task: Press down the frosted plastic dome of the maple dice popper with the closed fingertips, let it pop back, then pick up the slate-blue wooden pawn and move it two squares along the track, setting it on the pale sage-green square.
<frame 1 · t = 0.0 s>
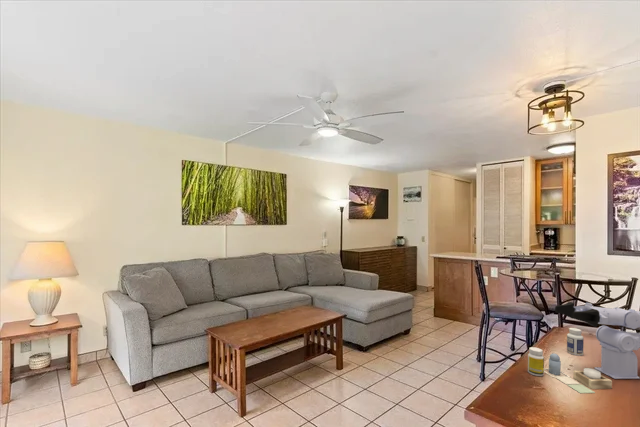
hand: (564, 312, 117), 22 cm above the table, tool horizontal, fingers open, 7 cm apart
square one: (567, 380, 112), on the table
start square: (554, 373, 118), on the table
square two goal: (580, 389, 107), on the table
pawn: (554, 373, 118), on the table
dome: (592, 375, 111), point 3 cm above the table, slide at 0.1 cm
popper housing: (592, 383, 111), on the table
supplement bottle: (535, 373, 117), on the table
pill bottle: (574, 353, 136), on the table
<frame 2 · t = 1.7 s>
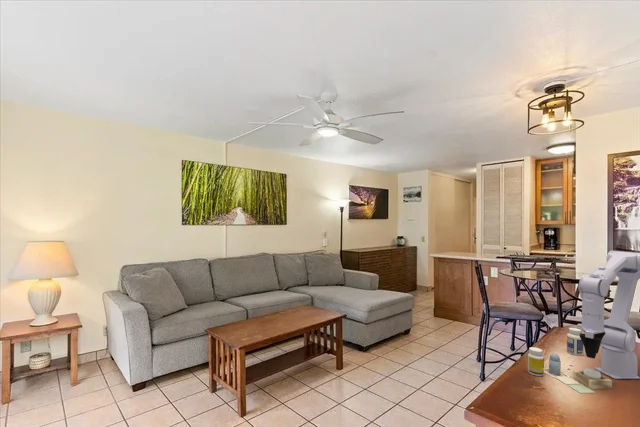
hand: (592, 354, 111), 9 cm above the table, tool pointing down, fingers open, 6 cm apart
nothing on the table moved.
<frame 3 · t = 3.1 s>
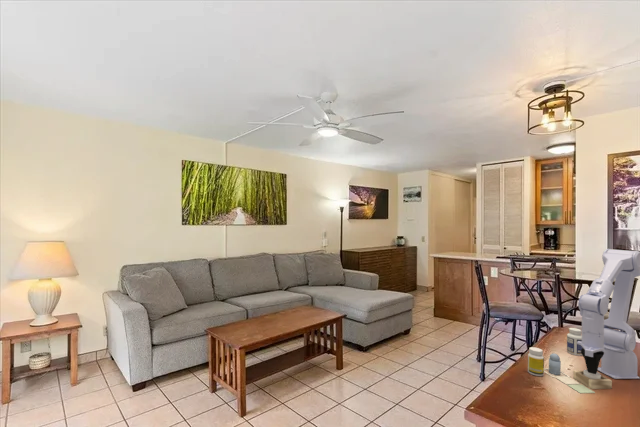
hand: (592, 372, 111), 4 cm above the table, tool pointing down, fingers closed, pressing on dome
dome: (592, 376, 111), point 2 cm above the table, slide at 0.6 cm, touching gripper
everything else where it was.
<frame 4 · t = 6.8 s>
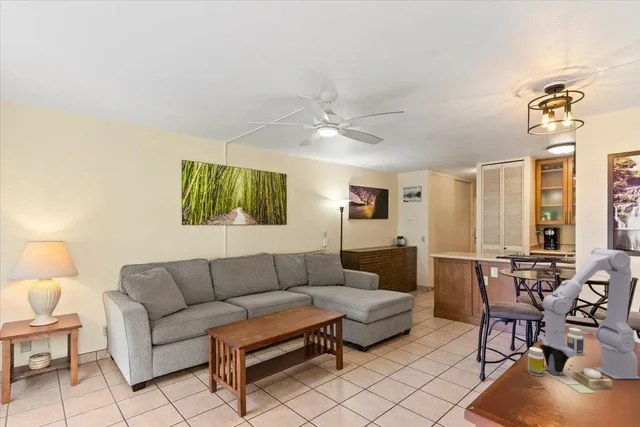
hand: (554, 369, 118), 1 cm above the table, tool pointing down, fingers closed on pawn, 3 cm apart
pawn: (554, 373, 118), on the table, touching gripper
dome: (592, 375, 111), point 3 cm above the table, slide at 0.1 cm
everything else where it was.
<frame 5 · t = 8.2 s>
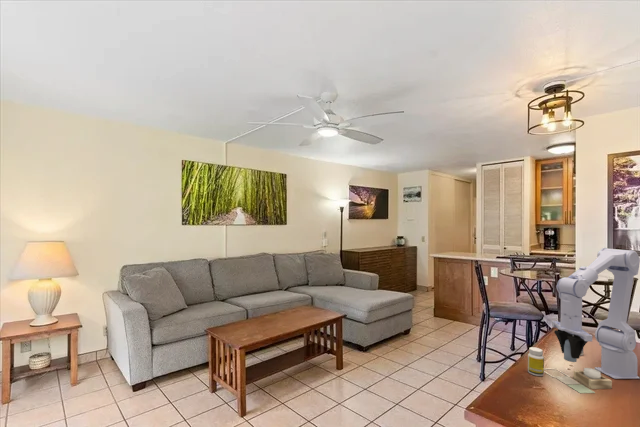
hand: (570, 355, 111), 9 cm above the table, tool pointing down, fingers closed on pawn, 3 cm apart
pawn: (570, 359, 111), point 7 cm above the table, touching gripper
everything else where it was.
when the fingers open (3 cm above the table, at t = 9.9 s): pawn drops 1 cm, resting on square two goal.
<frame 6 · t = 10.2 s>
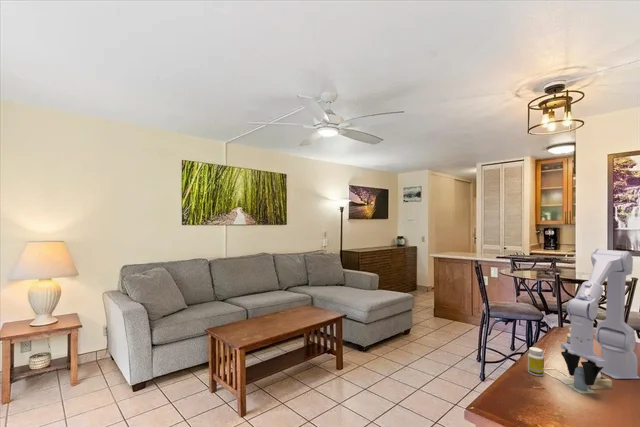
hand: (581, 379, 107), 3 cm above the table, tool pointing down, fingers open, 6 cm apart
pawn: (580, 388, 107), resting on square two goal
everything else where it was.
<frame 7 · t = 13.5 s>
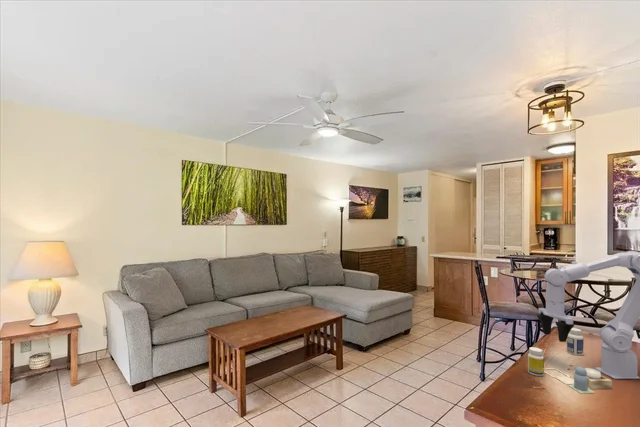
hand: (554, 337, 125), 10 cm above the table, tool pointing down, fingers open, 7 cm apart
nothing on the table moved.
at the end: pawn 0.1 cm from the target spot, resting on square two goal; pawn tilted 2°; dome slide at 0.1 cm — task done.
